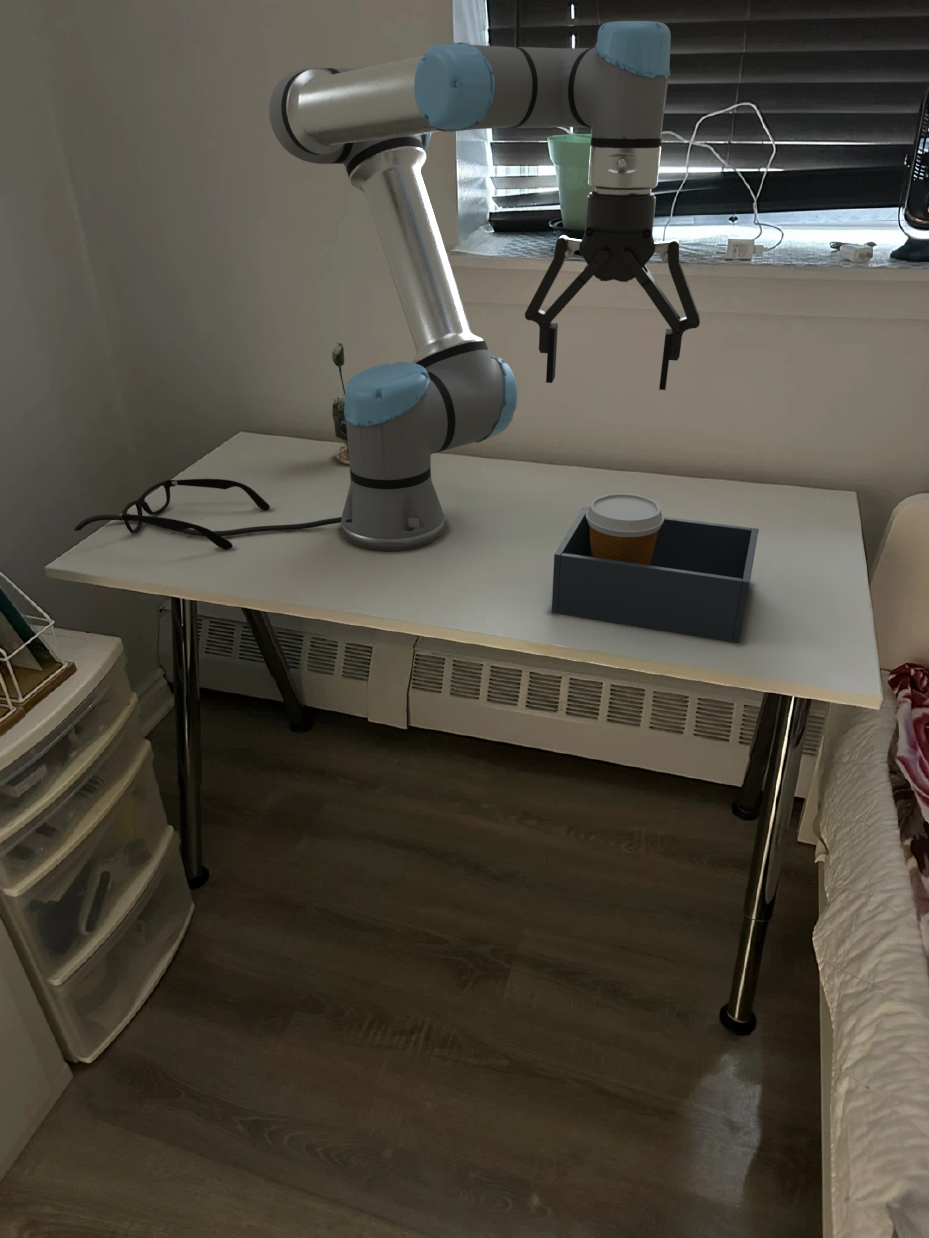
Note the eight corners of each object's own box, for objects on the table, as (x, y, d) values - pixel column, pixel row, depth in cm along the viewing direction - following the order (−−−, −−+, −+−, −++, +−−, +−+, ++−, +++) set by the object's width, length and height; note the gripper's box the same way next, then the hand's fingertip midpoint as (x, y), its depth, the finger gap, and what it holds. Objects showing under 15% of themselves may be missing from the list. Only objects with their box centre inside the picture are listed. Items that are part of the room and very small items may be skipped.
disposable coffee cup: (638, 618, 109) (647, 528, 103) (568, 598, 113) (573, 511, 107) (666, 587, 116) (676, 501, 110) (599, 569, 120) (605, 486, 114)
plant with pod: (322, 469, 155) (311, 352, 145) (342, 447, 165) (334, 337, 155) (366, 472, 154) (359, 355, 144) (385, 450, 163) (379, 339, 153)
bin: (551, 612, 110) (554, 554, 106) (580, 560, 123) (583, 506, 119) (739, 643, 103) (749, 582, 99) (749, 584, 116) (758, 528, 112)
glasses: (169, 505, 143) (162, 476, 141) (272, 507, 140) (267, 477, 137) (116, 548, 129) (107, 517, 127) (229, 552, 126) (223, 519, 123)
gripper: (504, 191, 96) (499, 385, 107) (740, 196, 92) (711, 398, 103) (515, 185, 103) (510, 369, 114) (737, 190, 98) (710, 381, 109)
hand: (605, 383), depth 108 cm, fingers open, 13 cm apart
